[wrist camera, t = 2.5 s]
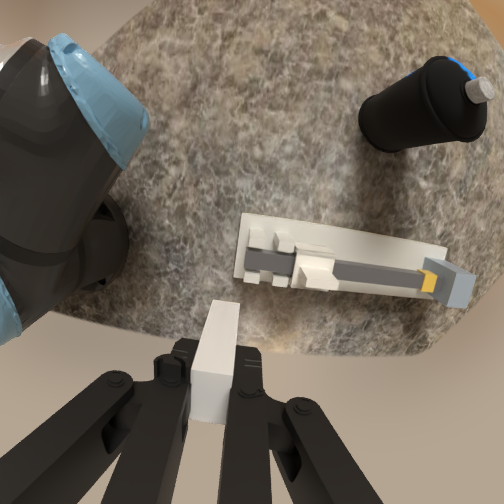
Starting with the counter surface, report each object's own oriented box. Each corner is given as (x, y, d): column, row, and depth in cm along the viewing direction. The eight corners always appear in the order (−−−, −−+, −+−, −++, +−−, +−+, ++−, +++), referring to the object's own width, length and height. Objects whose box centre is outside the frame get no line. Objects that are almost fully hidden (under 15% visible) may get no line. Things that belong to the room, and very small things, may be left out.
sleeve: (286, 275, 33) (296, 303, 26) (292, 241, 32) (305, 259, 25) (319, 279, 33) (338, 307, 26) (326, 246, 33) (348, 265, 25)
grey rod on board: (233, 274, 38) (228, 302, 29) (242, 212, 36) (239, 222, 27) (429, 296, 39) (462, 320, 30) (442, 246, 37) (480, 262, 28)
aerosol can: (402, 163, 34) (511, 159, 15) (350, 135, 33) (442, 99, 14) (417, 113, 32) (518, 81, 13) (367, 84, 32) (453, 22, 12)
